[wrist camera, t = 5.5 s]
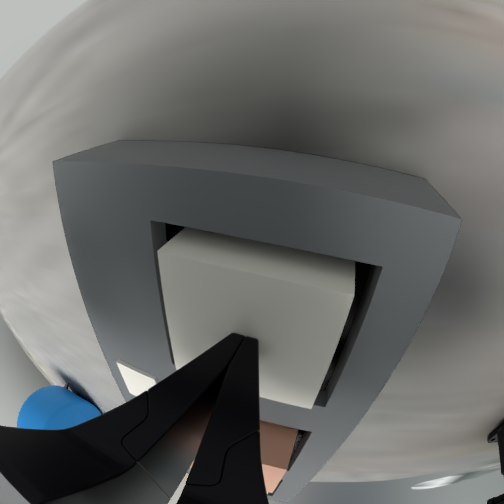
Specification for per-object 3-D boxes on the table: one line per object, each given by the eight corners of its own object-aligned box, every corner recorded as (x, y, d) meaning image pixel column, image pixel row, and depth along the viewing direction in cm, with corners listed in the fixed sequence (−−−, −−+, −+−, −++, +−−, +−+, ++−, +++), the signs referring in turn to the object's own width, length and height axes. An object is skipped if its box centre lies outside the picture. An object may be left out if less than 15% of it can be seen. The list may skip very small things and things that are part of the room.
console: (425, 179, 9) (464, 222, 5) (297, 470, 23) (286, 504, 19) (118, 140, 12) (48, 162, 8) (177, 433, 26) (160, 463, 22)
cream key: (354, 235, 10) (354, 295, 7) (324, 344, 12) (311, 409, 9) (208, 208, 11) (157, 250, 8) (211, 316, 14) (176, 369, 11)
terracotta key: (303, 409, 13) (286, 469, 10) (286, 447, 16) (272, 493, 13) (202, 381, 14) (173, 433, 11) (208, 424, 17) (187, 466, 14)
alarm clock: (54, 365, 31) (-7, 436, 18) (81, 382, 29) (16, 464, 16) (92, 417, 37) (46, 479, 24) (119, 432, 35) (73, 500, 22)
